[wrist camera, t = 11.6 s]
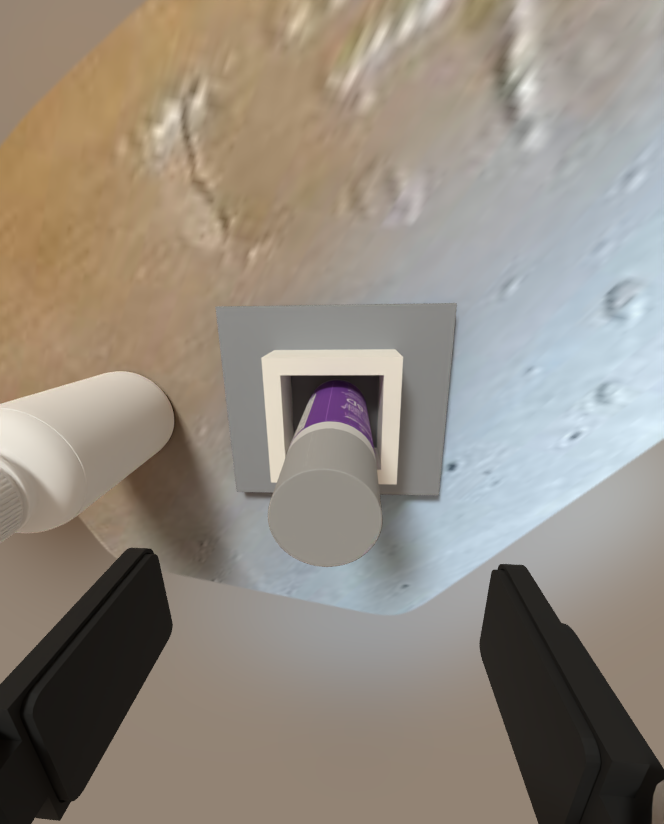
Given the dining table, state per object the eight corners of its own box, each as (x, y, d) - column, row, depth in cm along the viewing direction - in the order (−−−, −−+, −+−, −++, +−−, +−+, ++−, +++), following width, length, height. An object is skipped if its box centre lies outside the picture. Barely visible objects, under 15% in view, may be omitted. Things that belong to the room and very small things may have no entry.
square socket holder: (452, 303, 26) (476, 302, 21) (435, 488, 30) (451, 523, 26) (221, 306, 27) (191, 306, 22) (240, 485, 31) (220, 518, 27)
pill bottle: (147, 470, 32) (-21, 607, 17) (74, 414, 30) (-175, 512, 16) (195, 412, 30) (50, 514, 15) (119, 349, 28) (-119, 396, 14)
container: (374, 389, 27) (404, 487, 12) (355, 440, 28) (362, 583, 14) (318, 371, 26) (281, 449, 12) (301, 424, 28) (252, 551, 13)
